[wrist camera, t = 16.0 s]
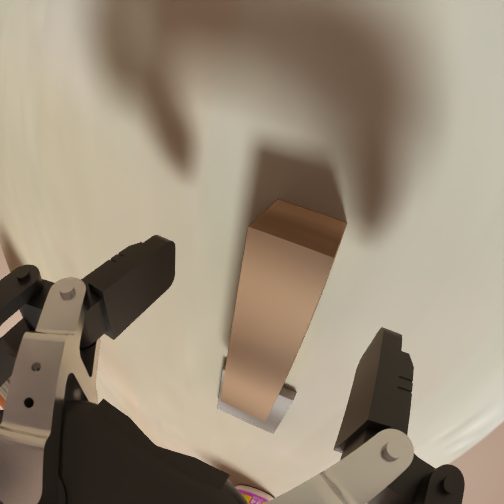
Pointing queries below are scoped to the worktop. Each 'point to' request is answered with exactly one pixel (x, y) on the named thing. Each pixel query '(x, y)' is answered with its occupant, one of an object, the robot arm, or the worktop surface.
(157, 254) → the robot arm
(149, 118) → the worktop surface
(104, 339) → the worktop surface
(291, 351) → the tan flat bar
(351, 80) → the worktop surface
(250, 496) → the supplement bottle
